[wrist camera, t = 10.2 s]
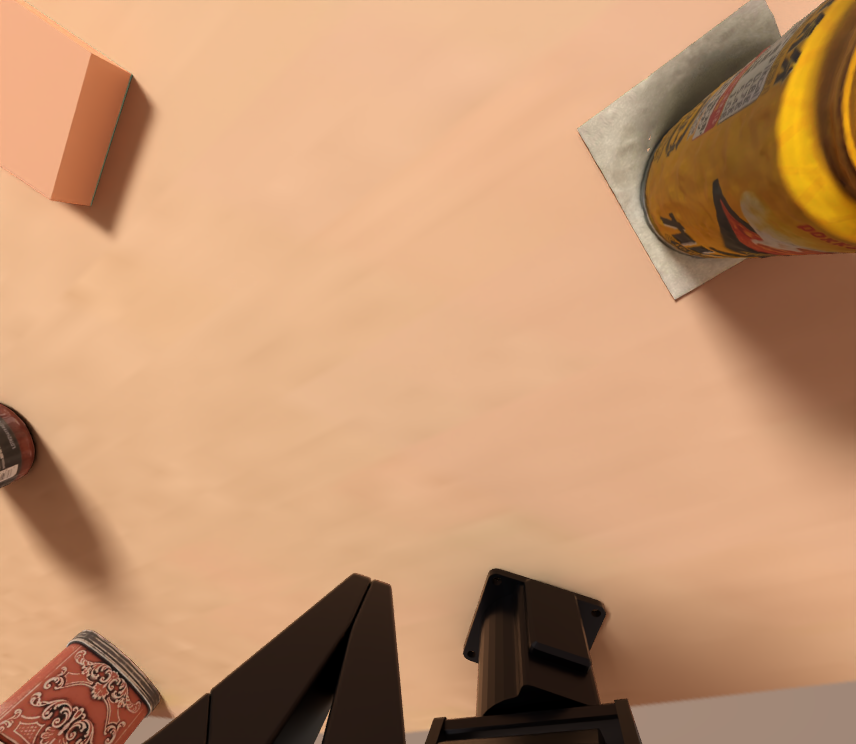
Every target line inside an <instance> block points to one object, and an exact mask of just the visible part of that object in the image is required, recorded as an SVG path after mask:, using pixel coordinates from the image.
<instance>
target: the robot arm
mask: <svg viewBox="0 0 856 744" xmlns="http://www.w3.org/2000/svg"><path fill="white" fill-rule="evenodd" d="M495 577H497V578H500V579H499V580H495V579H494V578H495ZM594 609H597V611H592V610H594ZM605 615H606V612H605V609H604V606H603V604H602V603H601V602H600V601H598V600H595V599H592V598H589V597H586V596H582V595H579V594H576V593H573V592H570V591H567V590H564V589H560V588H557V587H554V586H551V585H548V584H545V583H542V582H538V581H535V580H532V579H529V578H526V577H523V576H520V575H516V574H513V573H510V572H507V571H504V570H501V569H492V570H490V571H489V573H488V575H487V578H486V581H485V584H484V587H483V590H482V593H481V596H480V599H479V602H478V605H477V608H476V611H475V614H474V617H473V620H472V623H471V626H470V629H469V632H468V635H467V638H466V641H465V644H464V651H463V655H464V657H465V658H466V659H468V660H470V661H473V662H476V663H478V664H479V666H478V685H477V705H476V717H466V718H456V719H447V718H446V717H440V718H434V720H433V722H432V725H431V728H430V731H429V734H428V736H427V739H426V742H425V744H642V742H641V739H640V736H639V733H638V730H637V727H636V724H635V721H634V718H633V715H632V712H631V709H630V706H629V703H628V700H627V699H619V700H614V702H615V703H608V704H601V703H600V698H599V694H598V690H597V686H596V681H595V677H594V673H593V669H592V660H591V656H590V652H589V651H590V649H591V646H592V644H593V642H594V640H595V638H596V636H597V633H598V631H599V629H600V627H601V625H602V622H603V620H604V618H605ZM472 651H474V652H472ZM329 710H330V712H329ZM328 712H329V716H328V720H327V724H326V728H325V732H324V736H323V740H322V744H406V741H405V730H404V719H403V708H402V697H401V686H400V675H399V664H398V653H397V642H396V631H395V620H394V609H393V598H392V588H391V585H390V584H388V583H385V582H382V581H379V580H373V581H371V578H369V577H367V576H364V575H360V574H357V573H353V574H352V575H350V576H349V577H348V578H347V579H345V580H344V581H343V582H342V583H340V584H339V585H338V586H337V587H336V588H334V589H333V590H332V591H331V592H330V593H328V594H327V595H326V596H325V597H323V598H322V599H321V600H320V601H319V602H317V603H316V604H315V605H314V606H312V607H311V608H310V609H309V610H308V611H306V612H305V613H304V614H303V615H301V616H300V617H299V618H298V619H297V620H295V621H294V622H293V623H292V624H290V625H289V626H288V627H287V628H286V629H284V630H283V631H282V632H281V633H279V634H278V635H277V636H276V637H275V638H273V639H272V640H271V641H270V642H268V643H267V644H266V645H265V646H264V647H262V648H261V649H260V650H259V651H257V652H256V653H255V654H254V655H253V656H251V657H250V658H249V659H248V660H247V661H245V662H244V663H243V664H242V665H240V666H239V667H238V668H237V669H236V670H234V671H233V672H232V673H231V674H229V675H228V676H227V677H226V678H225V679H223V680H222V681H221V682H220V683H218V684H217V685H216V686H215V687H214V688H212V689H211V691H210V694H209V693H206V694H205V695H203V696H202V697H201V698H200V699H199V700H197V701H196V702H195V703H194V704H193V705H191V706H190V707H189V708H188V709H186V710H185V711H184V712H183V713H181V714H180V715H179V716H178V717H176V718H175V719H174V720H172V721H171V722H170V723H169V724H167V725H166V726H165V727H164V728H162V729H161V730H160V731H158V732H157V733H156V734H155V735H153V736H152V737H151V738H149V739H148V740H147V741H145V742H144V743H142V744H314V742H315V740H316V738H317V736H318V734H319V732H320V729H321V727H322V725H323V723H324V721H325V719H326V717H327V714H328Z"/></svg>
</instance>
